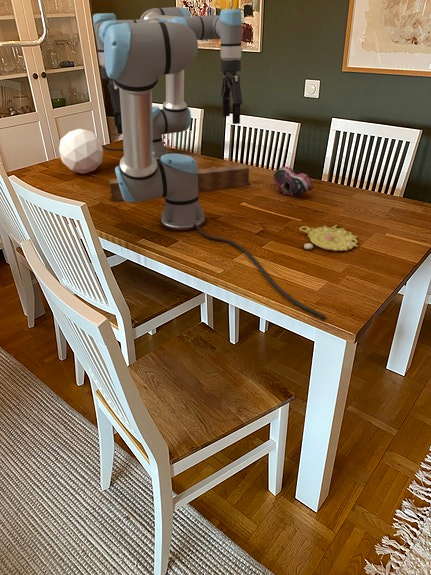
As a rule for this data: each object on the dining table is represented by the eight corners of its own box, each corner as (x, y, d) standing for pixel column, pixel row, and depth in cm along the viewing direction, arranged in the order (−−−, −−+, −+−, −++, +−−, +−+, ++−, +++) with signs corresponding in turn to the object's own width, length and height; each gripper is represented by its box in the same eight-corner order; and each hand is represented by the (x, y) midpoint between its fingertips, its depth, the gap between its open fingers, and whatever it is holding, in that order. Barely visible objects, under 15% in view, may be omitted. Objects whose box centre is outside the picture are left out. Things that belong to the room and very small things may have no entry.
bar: (112, 201, 175) (110, 183, 171) (112, 197, 179) (109, 179, 175) (248, 185, 186) (248, 168, 182) (244, 181, 190) (245, 164, 186)
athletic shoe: (283, 166, 186) (259, 173, 182) (313, 160, 166) (287, 167, 162) (289, 193, 189) (265, 200, 185) (319, 190, 169) (293, 198, 165)
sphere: (90, 188, 207) (76, 163, 188) (59, 168, 212) (42, 141, 193) (116, 160, 212) (105, 132, 193) (86, 141, 216) (72, 112, 198)
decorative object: (343, 255, 128) (285, 234, 139) (342, 262, 130) (284, 241, 140) (372, 230, 142) (317, 213, 152) (371, 237, 143) (316, 219, 153)
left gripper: (251, 62, 152) (250, 126, 163) (231, 55, 172) (231, 112, 184) (230, 63, 150) (231, 127, 162) (212, 56, 171) (213, 114, 182)
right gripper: (125, 68, 143) (133, 136, 154) (119, 62, 163) (127, 122, 175) (101, 70, 141) (111, 138, 153) (98, 63, 162) (108, 123, 173)
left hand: (231, 119), depth 173 cm, fingers open, 13 cm apart
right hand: (120, 129), depth 164 cm, fingers open, 13 cm apart
